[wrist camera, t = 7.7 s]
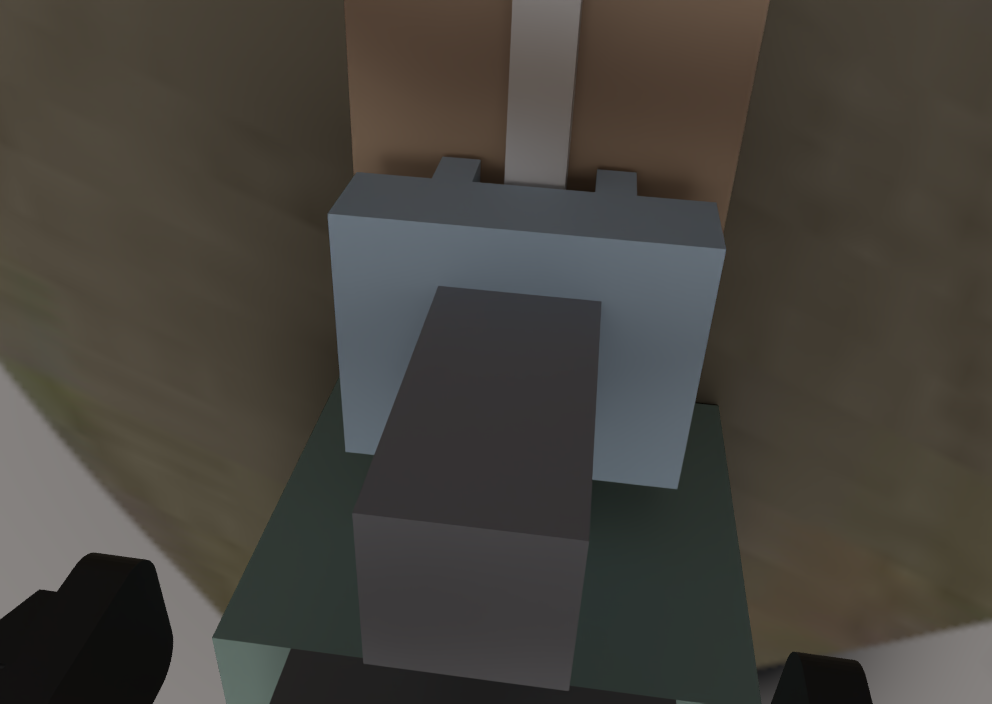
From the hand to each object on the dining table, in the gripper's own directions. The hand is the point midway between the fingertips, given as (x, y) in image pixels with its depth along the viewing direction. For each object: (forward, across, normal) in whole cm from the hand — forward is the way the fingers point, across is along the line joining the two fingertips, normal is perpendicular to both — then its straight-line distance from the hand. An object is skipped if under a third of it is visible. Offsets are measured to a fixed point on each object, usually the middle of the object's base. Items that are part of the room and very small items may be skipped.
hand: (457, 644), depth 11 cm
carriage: (+10, 0, 0) cm, 10 cm away
